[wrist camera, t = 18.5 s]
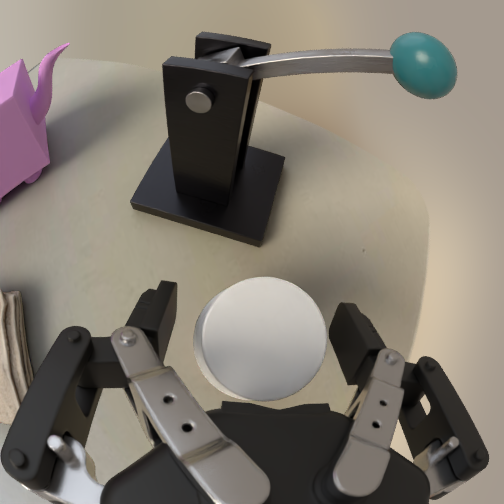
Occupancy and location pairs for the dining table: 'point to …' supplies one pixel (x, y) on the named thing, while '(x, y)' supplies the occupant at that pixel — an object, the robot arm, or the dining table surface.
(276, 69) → the lever with teal knob
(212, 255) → the dining table surface
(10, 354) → the washcloth
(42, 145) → the teapot
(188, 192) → the bracket
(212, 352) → the pill bottle
